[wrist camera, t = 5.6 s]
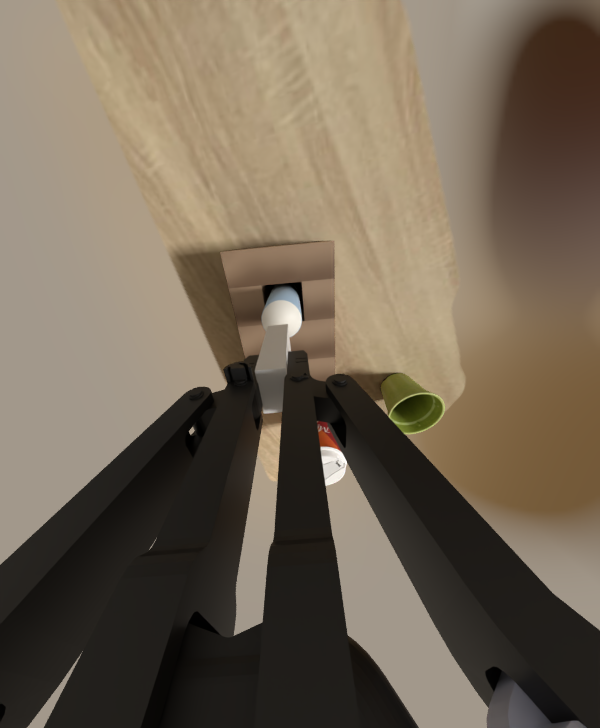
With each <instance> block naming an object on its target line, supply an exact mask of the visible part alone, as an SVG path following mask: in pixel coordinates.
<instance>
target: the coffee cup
mask: <svg viewBox="0 0 600 728" xmlns="http://www.w3.org/2000/svg"><path fill="white" fill-rule="evenodd" d="M317 426H318V433H319V441H320V448H321V456H322V463H323V471H324V478H325V486H326V485H330V484H333V483H335V482H337V481H339V480H340V479H341V478H342V477H343V476H344V474H345V467H346V464H347V461H346V459H345V457H344V455H343V453H342V452H341V450H340V448H339V446H338V444H337V442H336V440H335V439H334V437H333V435H332V433H331V431H330V429H329V427H328V425H327V422H321V421H317Z"/></svg>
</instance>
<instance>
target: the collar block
mask: <svg viewBox="0 0 600 728" xmlns="http://www.w3.org/2000/svg"><path fill="white" fill-rule="evenodd" d="M220 254H221V259H222V263H223V267H224V271H225V275H226V280H227V284H228V288H229V292H230V296H231V301H232V305H233V309H234V313H235V318H236V322H237V326H238V330H239V334H240V339H241V343H242V347H243V351H244V355H245V359H246V358H247V357H248V356H250V355H259V354H260V351H261V347H262V344H263V341H264V337H265V334H266V331H265V329H264V328H263V325H262V321H261V316H262V312H263V310H264V307H265V305H266V302H267V300H268V298H269V295H270V293H271V291H272V290H271V284H282V283H292V282H300V288H301V300H302V302H300V307H301V315H302V324H301V327H300V329H299V331H298V332H297V333H296V334H295V335H294V336H292V337H290V347H291V351H299V350H304V351H305V352H306V353H307V356H308V363H309V371H310V375H311V377H312V378H314V379H316V380H319V381H326V379H327V378H328V377H329V376H331V375H334V374H335V272H334V241H318V242H307V243H297V244H287V245H276V246H266V247H256V248H246V249H237V250H230V251H223V252H220ZM262 411H263V407H262Z"/></svg>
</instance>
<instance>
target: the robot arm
mask: <svg viewBox="0 0 600 728" xmlns="http://www.w3.org/2000/svg"><path fill="white" fill-rule="evenodd" d="M223 370H224V373H225V376H226V380H227V383H228V384H227V386H226V388H225V389H224V390H221V391H218V392H214V393H212V392H211V390H210V389H209V388H208V387H197V388H194V389H192V390H190V391H188V392H186V393H185V394H184V395H183V396H182V397H181V398H180V399H178V400H177V401H176V402H175V403H174V404H173V405H172V406H171V407H170V408H169V409H168V410H167V411H166V412H164V414H162V415H161V416H160V417H159V418H158V419H157V420H156V421H155V422H154V423H153V424H152V425H150V426H149V427H148V428H147V429H146V430H145V431H144V432H143V433H142V434H141V435H140V436H139V437H138V438H136V439H135V440H134V441H133V442H132V443H131V444H130V445H129V446H128V447H127V448H126V449H125V450H124V451H122V452H121V453H120V454H119V455H118V456H117V457H116V458H115V459H114V460H113V461H112V462H111V463H110V464H108V466H106V467H105V468H104V469H103V470H102V471H101V472H100V473H99V474H98V475H97V476H96V477H94V478H93V479H92V480H91V481H90V482H89V483H88V484H87V485H86V486H85V487H84V488H83V489H82V490H81V491H79V492H78V494H76V495H75V496H74V497H73V498H72V499H71V500H70V501H69V502H68V503H66V504H65V505H64V506H63V507H62V508H61V509H60V510H59V511H58V512H57V513H56V514H55V515H54V516H53V517H51V518H50V519H49V520H48V521H47V522H46V523H45V524H44V525H43V526H42V527H41V528H40V529H39V530H37V531H36V532H35V533H34V534H33V535H32V536H31V537H30V538H29V539H28V540H27V541H26V542H25V543H23V544H22V545H21V546H20V547H19V548H18V549H17V550H16V551H15V552H14V553H13V554H12V555H11V556H10V557H8V559H6V560H5V561H4V562H3V563H2V564H1V565H0V728H27V727H28V726H29V724H30V723H31V722H32V720H33V719H34V718H35V716H36V715H37V714H38V712H39V711H40V710H41V708H42V707H43V706H44V704H45V703H46V702H47V700H48V699H49V698H50V697H51V695H52V694H53V692H54V691H55V690H56V689H57V687H58V686H59V685H60V683H61V682H62V680H63V679H64V677H65V676H66V674H67V673H68V672H69V670H70V669H71V667H72V666H73V664H74V663H75V661H76V660H77V658H78V657H79V656H80V654H81V653H82V654H81V656H80V658H79V660H78V662H77V664H76V666H75V668H74V670H73V672H72V674H71V676H70V678H69V680H68V681H67V684H66V686H65V687H64V689H63V691H62V693H61V695H60V697H59V699H58V701H57V703H56V705H55V707H54V709H53V711H52V713H51V715H50V717H49V719H48V720H47V723H46V724H45V726H44V728H419V727H418V726H417V724H416V723H415V721H414V720H413V718H412V716H411V715H410V714H409V712H408V710H407V709H406V707H405V706H404V704H403V703H402V701H401V700H400V698H399V696H398V695H397V693H396V692H395V690H394V689H393V687H392V686H391V684H390V683H389V681H388V680H387V678H386V676H385V675H384V674H383V672H382V671H381V669H380V668H379V667H378V665H377V664H376V663H375V662H374V660H373V659H372V658H371V657H370V655H369V654H368V653H367V652H366V651H365V650H364V649H363V648H362V647H361V646H360V645H359V644H358V643H357V642H356V641H354V640H353V639H352V638H351V637H349V636H348V635H347V628H346V621H345V615H344V607H343V600H342V592H341V585H340V578H339V571H338V564H337V557H336V550H335V545H334V540H333V536H332V530H331V523H330V515H329V508H328V501H327V494H326V486H325V478H324V471H323V463H322V456H321V448H320V441H319V433H318V426H317V421H321V422H327V425H328V427H329V429H330V431H331V433H332V435H333V437H334V439H335V440H336V442H337V444H338V446H339V448H340V450H341V452H342V453H343V455H344V457H345V459H346V461H347V463H348V465H349V466H350V468H351V470H352V472H353V474H354V476H355V478H356V480H357V481H358V483H359V485H360V487H361V489H362V491H363V492H364V494H365V496H366V498H367V500H368V502H369V504H370V505H371V507H372V509H373V511H374V513H375V515H376V517H377V518H378V520H379V522H380V524H381V526H382V528H383V530H384V532H385V533H386V535H387V537H388V539H389V541H390V543H391V545H392V546H393V548H394V550H395V552H396V554H397V556H398V558H399V559H400V561H401V563H402V565H403V567H404V569H405V571H406V572H407V574H408V576H409V578H410V580H411V582H412V583H413V586H414V587H415V589H416V591H417V593H418V595H419V597H420V599H421V600H422V602H423V604H424V606H425V608H426V610H427V612H428V613H429V615H430V617H431V619H432V621H433V623H434V625H435V626H436V628H437V630H438V631H439V633H440V635H441V637H442V638H443V640H444V641H445V643H446V645H447V647H448V649H449V650H450V652H451V654H452V656H453V657H454V659H455V660H456V662H457V663H458V665H459V666H460V668H461V669H462V671H463V672H464V674H465V675H466V677H467V678H468V680H469V681H470V683H471V684H472V686H473V687H474V689H475V690H476V692H477V693H478V695H479V696H480V697H481V698H482V700H483V701H484V703H485V704H486V705H487V706H488V708H489V709H488V714H487V728H600V631H599V630H598V629H597V628H596V627H595V626H593V625H592V624H591V623H590V622H588V621H587V620H586V619H585V618H583V617H582V616H581V615H579V614H578V613H577V612H576V611H574V610H573V609H572V608H571V607H569V606H568V605H567V604H566V603H564V602H563V601H562V600H560V599H559V598H558V597H556V596H555V595H554V594H553V593H552V592H551V591H550V590H549V589H548V588H547V587H546V585H545V584H544V583H543V582H542V581H541V580H540V579H539V578H538V577H537V576H536V575H535V574H534V573H533V572H532V570H531V569H530V568H529V567H528V566H527V565H526V564H525V563H524V562H523V561H522V560H521V559H520V558H519V556H518V555H517V554H516V553H515V552H514V551H513V550H512V549H511V548H510V547H509V546H508V545H507V544H506V543H505V542H504V541H503V539H502V538H501V537H500V536H499V535H498V534H497V533H496V532H495V531H494V530H493V529H492V527H491V526H490V525H489V524H488V523H487V522H486V521H485V520H484V519H483V518H482V517H481V516H480V515H479V514H478V512H477V511H476V510H475V509H474V508H473V507H472V506H471V505H470V504H469V503H468V502H467V501H466V500H465V499H464V497H463V496H462V495H461V494H460V493H459V492H458V491H457V490H456V489H455V488H454V487H453V486H452V485H451V484H450V483H449V481H448V480H447V479H446V478H445V477H444V476H443V475H442V474H441V473H440V472H439V471H438V470H437V468H436V467H435V466H434V465H433V464H432V463H431V462H430V461H429V460H428V459H427V458H426V457H425V455H424V454H423V453H422V452H421V451H420V450H419V449H418V448H417V447H416V446H415V445H414V444H413V443H412V442H411V441H410V439H408V437H407V436H406V435H405V434H404V433H403V432H402V431H401V430H400V429H399V428H398V426H397V425H396V424H395V423H394V422H393V421H392V420H391V419H390V418H389V417H388V416H387V415H386V414H385V413H384V411H383V410H382V409H381V408H380V407H379V406H378V405H377V404H376V403H375V402H374V401H373V400H372V399H371V397H370V396H369V395H368V394H367V393H366V392H365V391H364V390H363V389H362V388H361V387H360V386H359V385H358V384H357V382H356V381H355V380H354V379H353V378H351V377H350V376H348V375H345V374H334V375H331V376H329V377H328V378H327V379H326V381H319V380H316V379H314V378H312V377H311V375H310V371H309V363H308V356H307V353H306V352H305V351H304V350H299V351H291V347H290V338H289V330H288V324H283V325H272V326H268V327H267V331H266V334H265V337H264V341H263V344H262V347H261V351H260V354H259V355H250V356H248V357H247V358H246V359H244V361H243V362H235V363H232V364H230V365H228V366H226V367H225V368H224V369H223ZM262 407H263V412H264V414H266V413H278V412H282V423H281V439H280V455H279V470H278V487H277V502H276V517H275V532H274V540H273V543H272V544H271V546H270V550H269V555H268V565H267V576H266V589H265V601H264V613H263V623H261V624H258V625H256V626H254V627H252V628H250V629H248V630H246V631H243V632H241V633H240V634H237V635H235V636H233V635H234V628H235V620H236V593H235V592H236V581H237V575H238V567H239V562H240V556H241V550H242V544H243V537H244V532H245V526H246V519H247V513H248V507H249V501H250V495H251V489H252V483H253V477H254V471H255V465H256V458H257V452H258V446H259V440H260V434H261V428H262V422H263V419H262V414H261V411H262ZM192 427H194V430H195V431H194V433H193V434H192V435H190V434H189V430H190V429H191V428H192ZM157 536H158V537H157ZM156 538H157V539H156ZM155 539H156V541H155ZM154 541H155V543H154ZM153 543H154V544H153ZM152 544H153V546H152ZM151 546H152V548H151V549H150V547H151ZM149 549H150V550H149ZM148 550H149V551H148ZM82 651H83V652H82Z"/></svg>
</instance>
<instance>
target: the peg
mask: <svg viewBox="0 0 600 728" xmlns="http://www.w3.org/2000/svg"><path fill="white" fill-rule="evenodd" d="M261 321H262V325H263V328H264V329H265V331H267V327H268V326H272V325H283V324H288V330H289V338H290V337H292V336H294V335H295V334H296V333H297V332H298V331H299V329H300V327H301V324H302V315H301V307H300V299H299V293H298V290H297V288H296V287H295V286H294V285H293V284H291V283H282V284H276V285H275V286H274V287H273V289H272V291H271V293H270V295H269V298H268V300H267V302H266V305H265V307H264V310H263V312H262V316H261Z"/></svg>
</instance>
